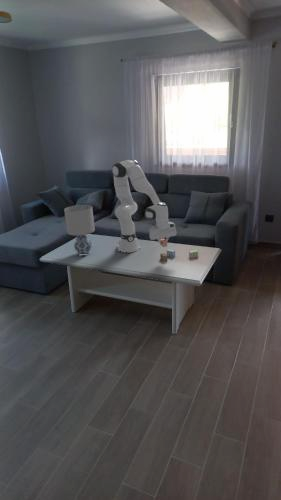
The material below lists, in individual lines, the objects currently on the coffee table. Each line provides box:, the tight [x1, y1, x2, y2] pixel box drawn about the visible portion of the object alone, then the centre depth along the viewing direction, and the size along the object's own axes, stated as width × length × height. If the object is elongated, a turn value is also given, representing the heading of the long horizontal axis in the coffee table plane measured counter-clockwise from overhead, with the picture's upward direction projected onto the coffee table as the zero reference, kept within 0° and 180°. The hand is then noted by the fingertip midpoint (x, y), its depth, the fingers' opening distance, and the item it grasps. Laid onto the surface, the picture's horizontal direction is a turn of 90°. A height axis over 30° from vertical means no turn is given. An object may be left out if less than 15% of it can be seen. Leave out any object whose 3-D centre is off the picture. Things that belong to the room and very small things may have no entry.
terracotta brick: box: [159, 238, 168, 248], centre depth 253 cm, size 6×3×4 cm, turn 20°
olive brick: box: [188, 249, 199, 259], centre depth 259 cm, size 6×3×4 cm, turn 110°
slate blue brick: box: [166, 249, 176, 258], centre depth 264 cm, size 6×3×4 cm, turn 50°
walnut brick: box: [159, 252, 168, 262], centre depth 257 cm, size 6×3×4 cm, turn 20°
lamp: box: [63, 204, 95, 255], centre depth 274 cm, size 22×22×38 cm
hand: (163, 243), depth 253 cm, fingers closed on terracotta brick, 3 cm apart
